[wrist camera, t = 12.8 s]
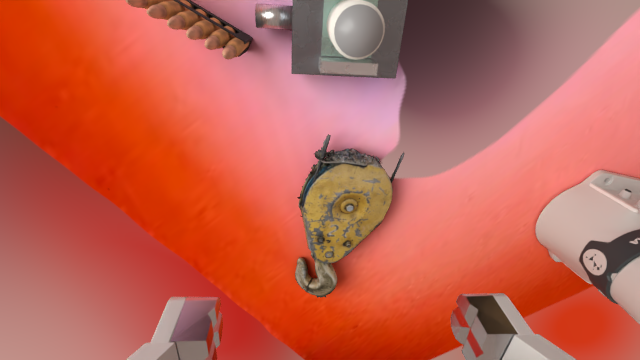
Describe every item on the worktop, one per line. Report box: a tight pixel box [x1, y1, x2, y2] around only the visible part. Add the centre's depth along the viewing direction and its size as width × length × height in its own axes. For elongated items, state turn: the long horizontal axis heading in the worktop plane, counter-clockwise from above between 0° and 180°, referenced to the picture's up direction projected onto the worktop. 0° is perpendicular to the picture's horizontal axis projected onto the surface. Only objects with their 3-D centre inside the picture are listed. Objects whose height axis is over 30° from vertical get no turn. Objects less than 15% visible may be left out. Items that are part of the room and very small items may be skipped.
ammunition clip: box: [126, 0, 253, 59], centre depth 35 cm, size 11×2×12 cm, turn 59°
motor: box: [255, 0, 408, 78], centre depth 37 cm, size 16×11×9 cm
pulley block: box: [295, 134, 404, 297], centre depth 53 cm, size 14×6×30 cm
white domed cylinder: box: [326, 0, 385, 60], centre depth 33 cm, size 5×5×6 cm
